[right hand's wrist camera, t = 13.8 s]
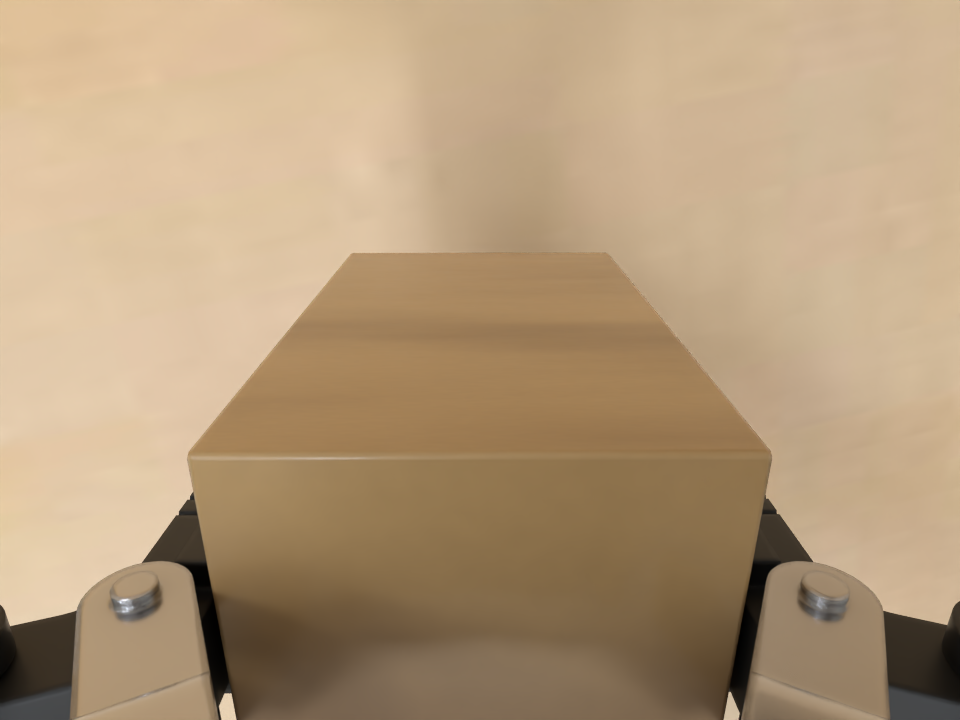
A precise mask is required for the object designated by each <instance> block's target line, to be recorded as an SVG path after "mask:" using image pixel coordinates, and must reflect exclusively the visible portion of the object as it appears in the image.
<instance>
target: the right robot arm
mask: <svg viewBox="0 0 960 720" xmlns="http://www.w3.org/2000/svg"><path fill="white" fill-rule="evenodd" d="M776 511H777V510H776V509H775V508H774V506H773V505H772V503H771V502H770V501H769V499H766V495H765V499H764V504H763V509H762V515H761V520H760V526H759V531H758V536H757V542H756V547H755V553H754V558H753V563H752V569H751V574H750V579H749V585H748V590H747V596H746V601H745V606H744V612H743V617H742V622H741V628H740V633H739V639H738V644H737V649H736V655H735V660H734V666H733V671H732V676H731V682H730V687H729V692H731V693H732V696H733V698H734V700H735V703H736V705H737V708H738V710H739V712H740V715H739V720H960V601H959V602H958V603H957V604H956V605H955V606H954V608H953V610H952V613H951V616H950V619H949V622H948V625H943V624H939V623H934V622H930V621H925V620H920V619H916V618H911V617H907V616H902V615H898V614H893V613H889V612H886V611H883V608H882V605H881V603H880V601H879V600H878V598H877V597H876V595H875V594H874V593H873V592H872V591H871V590H870V589H869V588H868V587H867V586H866V585H864V584H863V583H862V582H860V581H859V580H857V579H856V578H854V577H853V576H851V575H849V574H847V573H845V572H843V571H841V570H838V569H836V568H833V567H830V566H827V565H824V564H819V563H814V562H813V561H812V559H811V558H810V557H809V555H808V554H807V552H806V551H805V550H804V548H803V547H802V545H801V544H800V543H799V541H798V540H797V538H796V537H795V536H794V534H793V533H792V531H791V530H790V529H789V527H788V526H787V524H786V523H785V522H784V520H783V519H782V517H781V516H780V515H779V514H777V513H776ZM224 693H231V687H230V682H229V677H228V671H227V666H226V661H225V656H224V650H223V645H222V640H221V635H220V629H219V624H218V619H217V613H216V608H215V603H214V598H213V592H212V587H211V582H210V577H209V571H208V566H207V561H206V555H205V550H204V545H203V540H202V534H201V529H200V524H199V519H198V513H197V508H196V503H195V497H194V492H193V493H192V494H191V496H190V500H187V501H186V503H185V504H184V505H183V507H182V508H181V510H180V511H179V515H176V516H175V518H174V519H173V521H172V522H171V523H170V525H169V526H168V528H167V529H166V530H165V532H164V533H163V534H162V536H161V537H160V539H159V540H158V541H157V543H156V544H155V546H154V547H153V548H152V550H151V551H150V552H149V554H148V555H147V557H146V558H145V559H144V561H143V562H142V563H141V564H136V565H133V566H130V567H127V568H124V569H122V570H119V571H117V572H115V573H113V574H111V575H109V576H107V577H106V578H104V579H103V580H101V581H100V582H98V583H97V584H96V585H94V586H93V587H92V588H91V589H90V590H89V591H88V592H87V593H86V594H85V595H84V597H83V598H82V600H81V601H80V603H79V605H78V608H77V611H74V612H71V613H67V614H64V615H60V616H55V617H51V618H46V619H41V620H37V621H32V622H28V623H23V624H19V625H14V626H10V625H9V622H8V619H7V616H6V613H5V610H4V609H3V607H2V606H1V605H0V720H221V715H220V710H219V705H220V702H221V700H222V698H223V695H224Z"/></svg>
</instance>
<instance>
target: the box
mask: <svg viewBox="0 0 960 720" xmlns="http://www.w3.org/2000/svg"><path fill="white" fill-rule="evenodd" d="M187 460H188V466H189V471H190V476H191V482H192V487H193V492H194V497H195V503H196V508H197V513H198V519H199V524H200V529H201V534H202V540H203V545H204V550H205V555H206V561H207V566H208V571H209V577H210V582H211V587H212V592H213V598H214V603H215V608H216V613H217V619H218V624H219V629H220V635H221V640H222V645H223V650H224V656H225V661H226V666H227V671H228V677H229V682H230V687H231V693H232V698H233V703H234V708H235V714H236V719H237V720H723V719H724V714H725V709H726V703H727V698H728V692H729V687H730V682H731V676H732V671H733V666H734V660H735V655H736V649H737V644H738V639H739V633H740V628H741V622H742V617H743V612H744V606H745V601H746V596H747V590H748V585H749V579H750V574H751V569H752V563H753V558H754V553H755V547H756V542H757V536H758V531H759V526H760V520H761V515H762V509H763V504H764V499H765V493H766V488H767V483H768V477H769V472H770V466H771V461H772V455H771V451H770V450H769V449H768V447H767V446H766V445H765V444H764V442H763V441H762V440H761V439H760V438H759V436H758V435H757V434H756V433H755V432H754V430H753V429H752V428H751V427H750V425H749V424H748V423H747V422H746V421H745V419H744V418H743V417H742V416H741V415H740V413H739V412H738V411H737V410H736V408H735V407H734V406H733V405H732V404H731V402H730V401H729V400H728V399H727V398H726V396H725V395H724V394H723V393H722V391H721V390H720V389H719V388H718V387H717V385H716V384H715V383H714V382H713V381H712V379H711V378H710V377H709V376H708V374H707V373H706V372H705V371H704V370H703V368H702V367H701V366H700V365H699V364H698V362H697V361H696V360H695V359H694V357H693V356H692V355H691V354H690V353H689V351H688V350H687V349H686V348H685V347H684V345H683V344H682V343H681V342H680V340H679V339H678V338H677V337H676V336H675V334H674V333H673V332H672V331H671V330H670V328H669V327H668V326H667V325H666V323H665V322H664V321H663V320H662V319H661V317H660V316H659V315H658V314H657V313H656V311H655V310H654V309H653V308H652V306H651V305H650V304H649V303H648V302H647V300H646V299H645V298H644V297H643V296H642V294H641V293H640V292H639V291H638V289H637V288H636V287H635V286H634V285H633V283H632V282H631V281H630V280H629V279H628V277H627V276H626V275H625V274H624V272H623V271H622V270H621V269H620V268H619V266H618V265H617V264H616V263H615V262H614V260H613V259H612V258H611V257H610V255H609V254H607V253H353V254H351V255H350V256H349V257H348V258H347V259H346V261H345V262H344V263H343V264H342V266H341V267H340V268H339V269H338V270H337V272H336V273H335V274H334V275H333V277H332V278H331V279H330V280H329V281H328V283H327V284H326V285H325V286H324V288H323V289H322V290H321V291H320V292H319V294H318V295H317V296H316V297H315V299H314V300H313V301H312V302H311V303H310V305H309V306H308V307H307V308H306V310H305V311H304V312H303V313H302V314H301V316H300V317H299V318H298V319H297V320H296V322H295V323H294V324H293V325H292V327H291V328H290V329H289V330H288V331H287V333H286V334H285V335H284V336H283V338H282V339H281V340H280V341H279V342H278V344H277V345H276V346H275V347H274V349H273V350H272V351H271V352H270V353H269V355H268V356H267V357H266V358H265V360H264V361H263V362H262V363H261V364H260V366H259V367H258V368H257V369H256V371H255V372H254V373H253V374H252V375H251V377H250V378H249V379H248V380H247V381H246V383H245V384H244V385H243V386H242V388H241V389H240V390H239V391H238V392H237V394H236V395H235V396H234V397H233V399H232V400H231V401H230V402H229V403H228V405H227V406H226V407H225V408H224V410H223V411H222V412H221V413H220V414H219V416H218V417H217V418H216V419H215V421H214V422H213V423H212V424H211V425H210V427H209V428H208V429H207V430H206V431H205V433H204V434H203V435H202V436H201V438H200V439H199V440H198V441H197V442H196V444H195V445H194V446H193V447H192V449H191V450H190V451H189V453H188V456H187Z"/></svg>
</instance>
